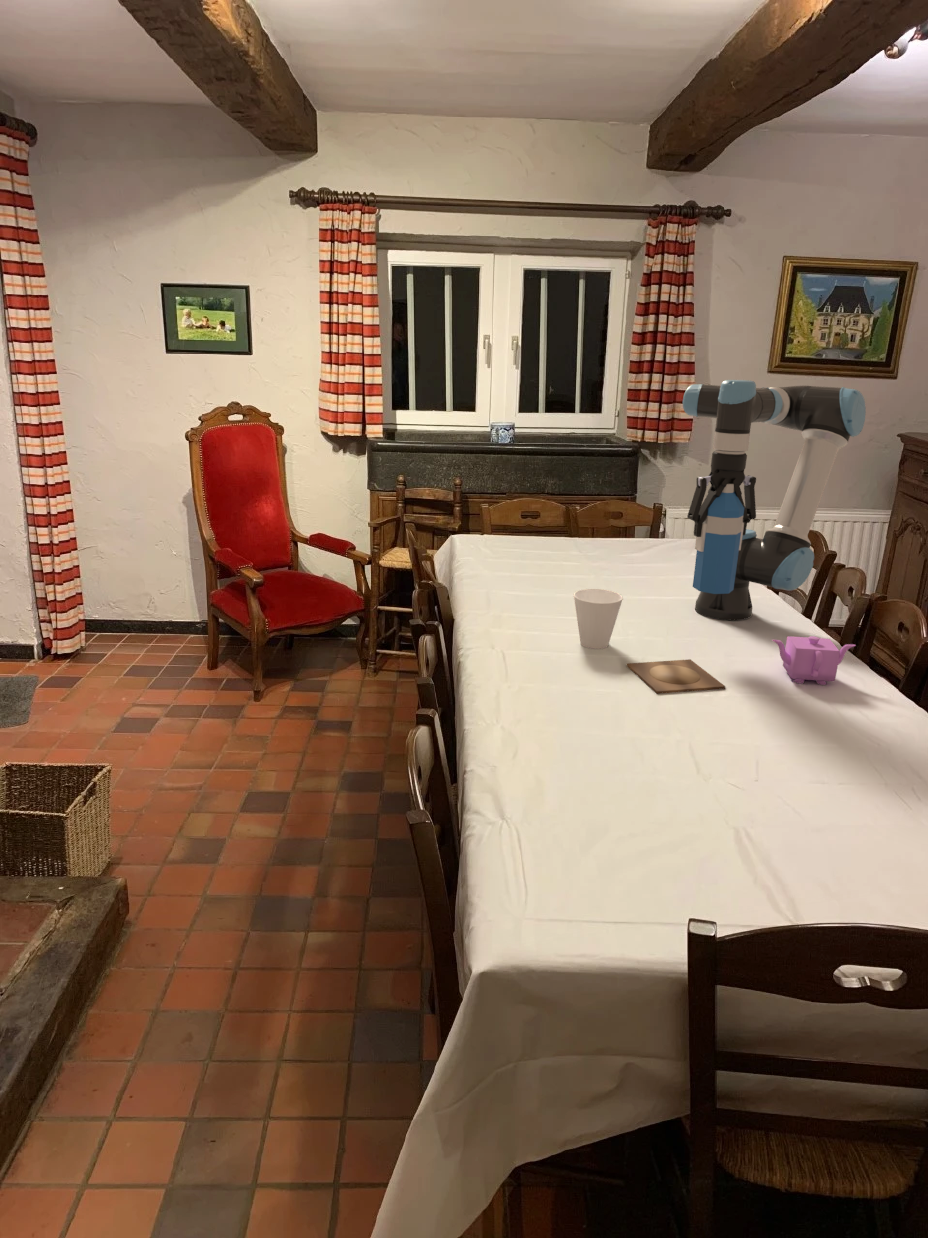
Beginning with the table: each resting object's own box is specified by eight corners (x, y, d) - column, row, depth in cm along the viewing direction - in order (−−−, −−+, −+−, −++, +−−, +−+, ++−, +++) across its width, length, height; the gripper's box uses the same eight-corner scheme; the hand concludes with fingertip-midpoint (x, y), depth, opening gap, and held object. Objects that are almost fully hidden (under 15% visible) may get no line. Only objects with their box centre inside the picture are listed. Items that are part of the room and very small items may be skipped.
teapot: (839, 668, 194) (846, 629, 191) (857, 691, 182) (865, 649, 178) (759, 663, 196) (765, 624, 193) (772, 685, 183) (778, 644, 180)
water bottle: (735, 595, 193) (749, 487, 184) (693, 592, 194) (706, 485, 186) (731, 584, 201) (745, 480, 193) (691, 581, 203) (703, 478, 195)
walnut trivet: (690, 661, 196) (690, 658, 196) (725, 688, 181) (725, 685, 181) (626, 665, 192) (626, 663, 192) (656, 694, 178) (657, 690, 177)
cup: (628, 644, 206) (632, 596, 202) (600, 656, 198) (604, 606, 194) (588, 632, 214) (591, 585, 210) (560, 643, 205) (563, 595, 201)
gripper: (763, 448, 193) (750, 544, 201) (678, 449, 189) (667, 547, 196) (782, 453, 186) (768, 551, 194) (694, 454, 182) (682, 555, 189)
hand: (717, 549), depth 195 cm, fingers closed on water bottle, 9 cm apart
